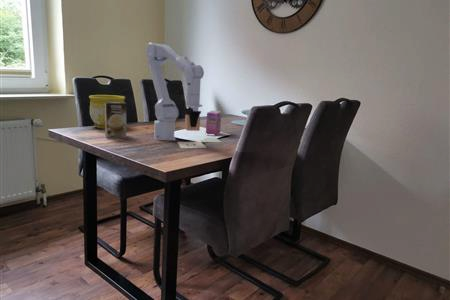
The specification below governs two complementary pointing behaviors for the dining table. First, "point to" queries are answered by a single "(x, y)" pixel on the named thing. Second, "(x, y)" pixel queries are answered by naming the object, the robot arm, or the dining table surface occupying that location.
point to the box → (213, 122)
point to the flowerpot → (101, 107)
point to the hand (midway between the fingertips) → (192, 125)
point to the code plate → (191, 145)
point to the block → (188, 126)
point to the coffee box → (115, 119)
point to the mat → (210, 140)
